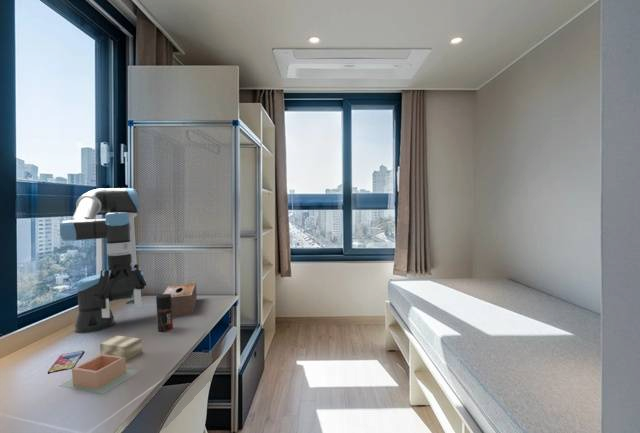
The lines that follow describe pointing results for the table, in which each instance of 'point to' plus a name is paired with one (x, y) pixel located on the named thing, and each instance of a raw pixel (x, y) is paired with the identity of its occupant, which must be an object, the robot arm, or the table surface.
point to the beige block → (121, 346)
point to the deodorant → (164, 312)
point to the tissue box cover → (182, 298)
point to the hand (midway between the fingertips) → (123, 311)
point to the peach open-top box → (98, 371)
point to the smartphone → (66, 361)
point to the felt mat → (106, 387)
